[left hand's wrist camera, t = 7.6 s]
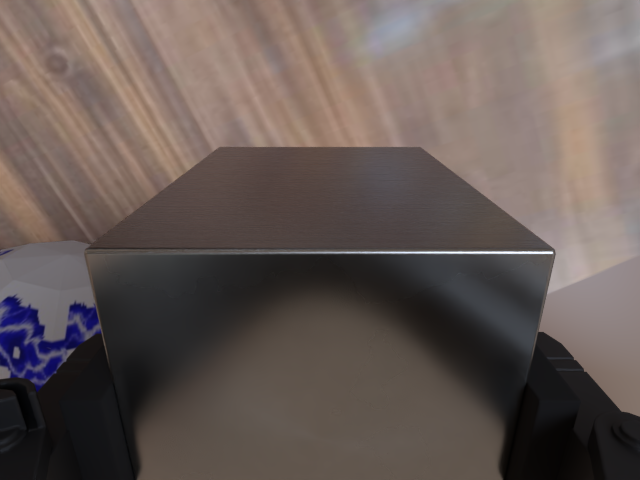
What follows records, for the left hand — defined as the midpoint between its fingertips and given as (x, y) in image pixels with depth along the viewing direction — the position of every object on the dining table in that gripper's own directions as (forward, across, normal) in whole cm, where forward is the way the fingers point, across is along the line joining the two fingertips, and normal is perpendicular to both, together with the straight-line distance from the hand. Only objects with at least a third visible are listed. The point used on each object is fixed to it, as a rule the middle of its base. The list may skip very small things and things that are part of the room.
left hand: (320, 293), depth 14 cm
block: (+4, 0, 0) cm, 4 cm away
